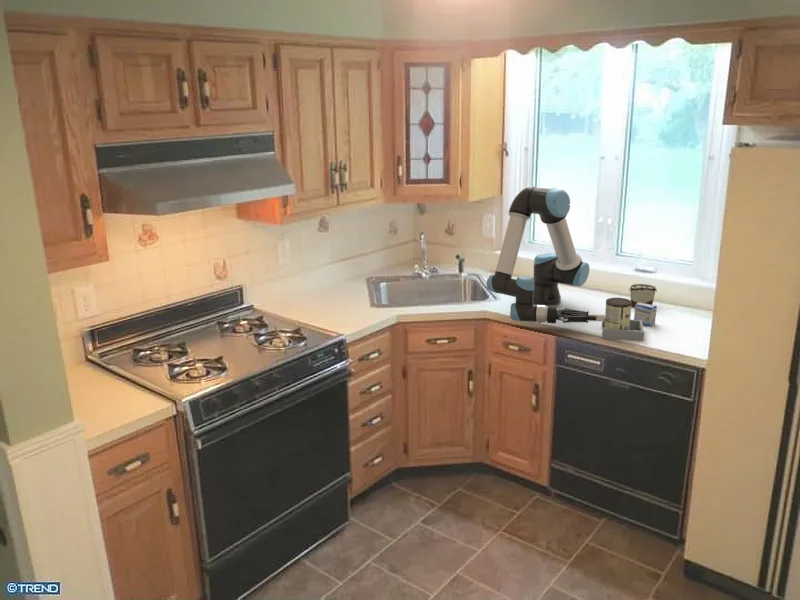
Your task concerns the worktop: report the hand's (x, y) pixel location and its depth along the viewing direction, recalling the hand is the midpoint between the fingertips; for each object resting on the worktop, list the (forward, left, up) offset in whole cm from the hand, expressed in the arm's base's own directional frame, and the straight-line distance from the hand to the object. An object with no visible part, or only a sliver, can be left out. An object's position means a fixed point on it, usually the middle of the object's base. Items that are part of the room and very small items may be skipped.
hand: (604, 318), depth 285 cm
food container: (+6, +45, -7) cm, 46 cm away
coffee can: (+5, +2, -7) cm, 9 cm away
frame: (+7, +2, -6) cm, 10 cm away
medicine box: (+13, +20, -7) cm, 24 cm away
